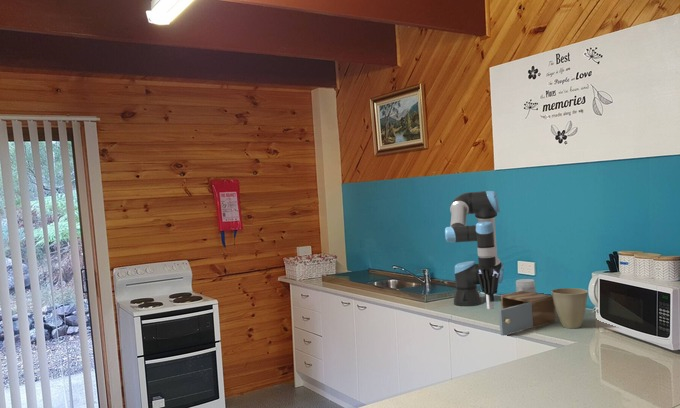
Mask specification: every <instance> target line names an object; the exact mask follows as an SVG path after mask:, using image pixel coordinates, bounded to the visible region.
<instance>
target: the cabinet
mask: <svg viewBox="0 0 680 408" xmlns="http://www.w3.org/2000/svg"><path fill="white" fill-rule="evenodd" d="M528 302H531V303H532V316H533V327H532V328H537V327H540V326H545V325H549V324H553V323H557V314H556V313H557V311H556V308H555V305H554V301H553V296H552V294H551V295H550V294H543V293H539V292H538V293H537V292H536V293H532V292H526V291H519V292H516V291H514V292H509V293H505V294H501V295H500V304H501V309H504V308H508V307H512V306H516V305H520V304H524V303H528Z"/></svg>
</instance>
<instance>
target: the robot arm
mask: <svg viewBox="0 0 680 408" xmlns="http://www.w3.org/2000/svg"><path fill="white" fill-rule="evenodd" d="M449 211H450V214H451V216H450V217H451V218H450V226H447V227H445V229H444V236H445V241H446V242H447V243H453V244H455V243H469V242H476V243H477V245H476V246H477V256H478V258H477V259H478V260H477V261H478V263H476V261H475V260H469V261H468V260H467V261H464V262H459V263H456V264H455V265H454V281H455V293H454V298H453V304H454V306H455V305H456V306H460V307H471V306H472V307H473V306H478V305H481V304H482V297H480V294H479V291H478V286H480V290H481V292H482V293H484V294H485V301H486V309H487V310H492V309H495V304H494V303H495V297H494V295H495V294H498V287H499V284H502V282H503V281H504V267H505V266H504V262H501V259H500V258H498V249H497V233H496V222H495V220H496V218H497V216H498V213H500V212H501V211H500V205H499V201H498V196H497V192H496V191H494V190H483V191H472V192H470V191H469V192H463V193H462V194H459V195H458V196H457V197H455V198H454V199H453V201H452V202H451V204H450V207H449ZM467 215H474V217H475V219H477V220H478V221H477V223H476V224H473V225H467Z"/></svg>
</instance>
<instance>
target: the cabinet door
mask: <svg viewBox="0 0 680 408" xmlns="http://www.w3.org/2000/svg"><path fill="white" fill-rule="evenodd" d="M498 317H499V319H498V320H499V329H500V336H506V335H510V334H513V333H516V332H521V331H523V330H528V329H530V328H534V327H533V316H532V303H531V302H528V303H524V304H520V305H516V306H512V307H508V308H504V309H502V308H501V309H498Z"/></svg>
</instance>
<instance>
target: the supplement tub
mask: <svg viewBox="0 0 680 408" xmlns="http://www.w3.org/2000/svg"><path fill="white" fill-rule="evenodd" d="M519 291H526V292H532V293H537V292H536V291H537V288H536V282H535V279H533V278H521V279H517V280H515V292H519Z"/></svg>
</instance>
